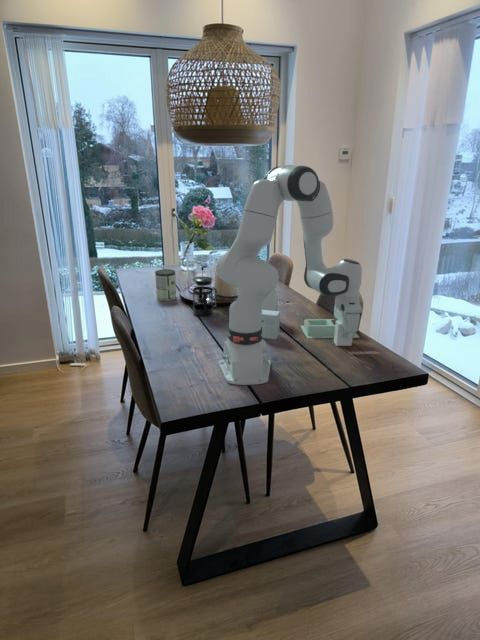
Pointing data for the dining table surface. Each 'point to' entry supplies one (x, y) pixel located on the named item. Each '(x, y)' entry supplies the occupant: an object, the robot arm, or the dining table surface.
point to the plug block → (341, 336)
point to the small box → (270, 324)
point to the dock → (320, 328)
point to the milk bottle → (270, 302)
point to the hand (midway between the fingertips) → (343, 335)
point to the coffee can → (165, 284)
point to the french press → (203, 296)
